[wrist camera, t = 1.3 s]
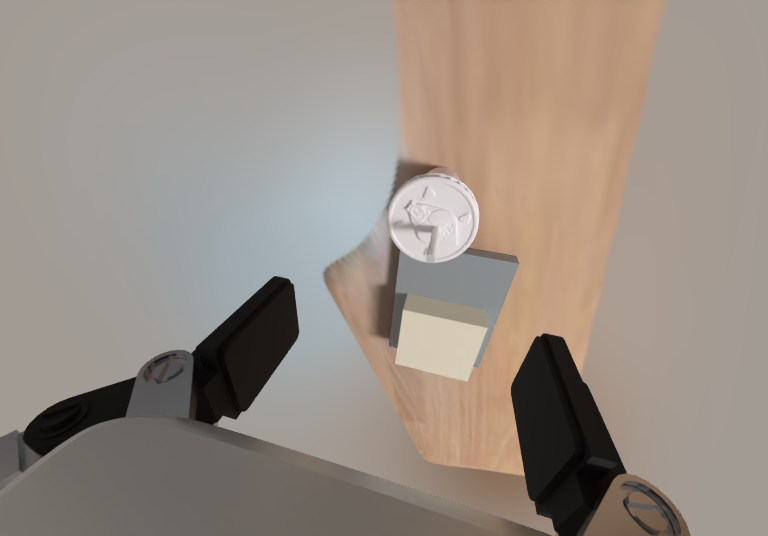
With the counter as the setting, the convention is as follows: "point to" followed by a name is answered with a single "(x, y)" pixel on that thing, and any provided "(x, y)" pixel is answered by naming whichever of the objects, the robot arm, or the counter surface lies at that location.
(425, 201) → the smoothie
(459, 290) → the base board
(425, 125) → the counter surface
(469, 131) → the counter surface
